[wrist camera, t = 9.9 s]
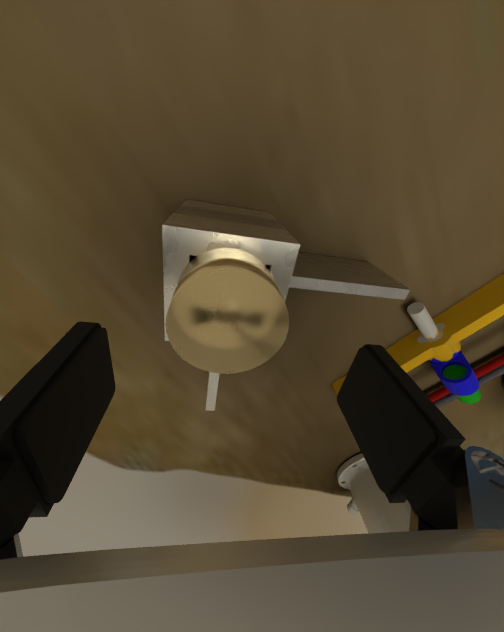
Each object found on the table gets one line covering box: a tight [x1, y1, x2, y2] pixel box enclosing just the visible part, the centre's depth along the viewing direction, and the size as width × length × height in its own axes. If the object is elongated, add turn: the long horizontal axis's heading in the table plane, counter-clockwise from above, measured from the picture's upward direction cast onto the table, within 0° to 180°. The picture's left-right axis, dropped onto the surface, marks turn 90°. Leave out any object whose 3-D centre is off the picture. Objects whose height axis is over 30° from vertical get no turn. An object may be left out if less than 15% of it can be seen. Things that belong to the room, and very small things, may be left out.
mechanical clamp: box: [332, 274, 504, 408], centre depth 27 cm, size 18×6×30 cm
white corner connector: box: [162, 199, 410, 411], centre depth 20 cm, size 16×16×9 cm
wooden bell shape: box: [166, 248, 289, 374], centre depth 15 cm, size 5×5×11 cm
